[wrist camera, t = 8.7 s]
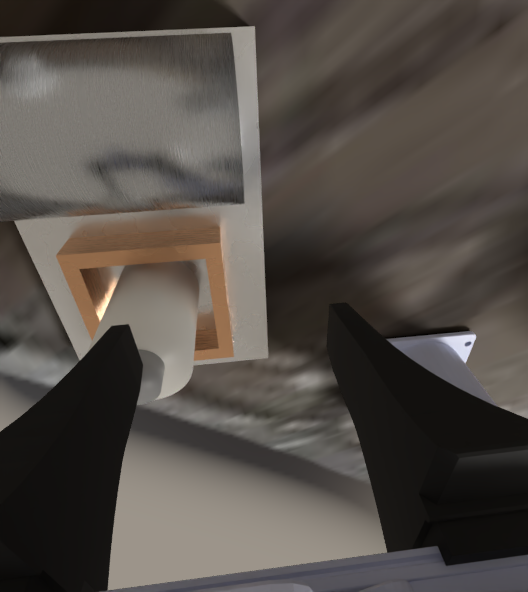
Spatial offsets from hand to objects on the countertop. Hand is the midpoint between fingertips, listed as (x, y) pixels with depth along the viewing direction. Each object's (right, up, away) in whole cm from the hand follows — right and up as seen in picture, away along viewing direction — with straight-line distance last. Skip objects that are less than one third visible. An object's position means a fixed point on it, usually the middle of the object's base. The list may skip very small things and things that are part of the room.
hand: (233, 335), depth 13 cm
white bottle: (-5, +2, +7) cm, 9 cm away
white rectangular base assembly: (-5, +5, +7) cm, 10 cm away
